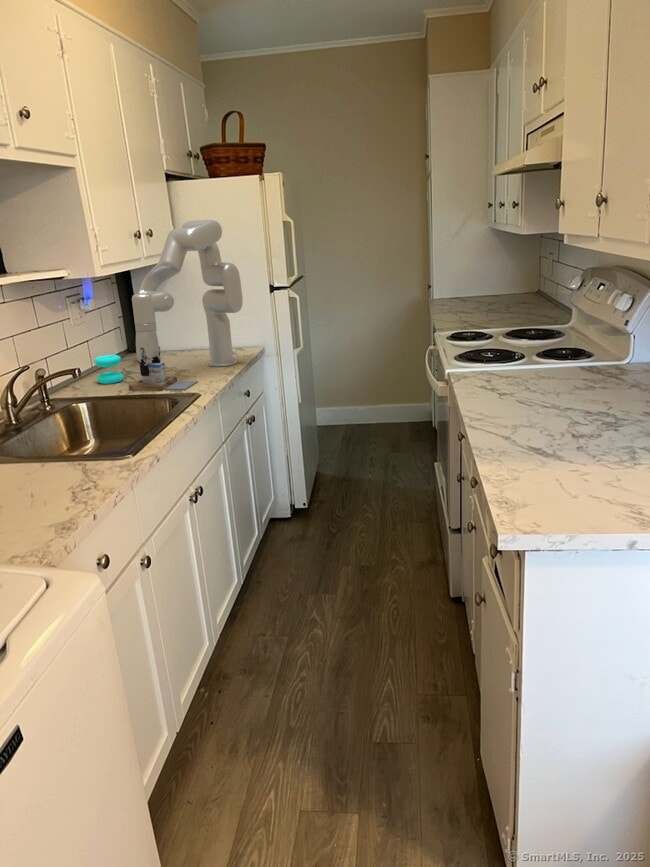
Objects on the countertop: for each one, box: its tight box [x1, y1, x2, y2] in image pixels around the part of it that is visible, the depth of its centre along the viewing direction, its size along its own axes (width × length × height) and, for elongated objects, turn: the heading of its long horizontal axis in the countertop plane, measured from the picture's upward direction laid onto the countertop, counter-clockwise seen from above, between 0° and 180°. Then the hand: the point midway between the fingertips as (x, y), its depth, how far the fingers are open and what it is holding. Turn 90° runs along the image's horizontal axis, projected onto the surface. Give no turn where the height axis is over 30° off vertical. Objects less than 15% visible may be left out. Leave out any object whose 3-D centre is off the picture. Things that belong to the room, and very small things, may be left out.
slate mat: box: [164, 380, 199, 391], centre depth 245 cm, size 12×8×1 cm, turn 168°
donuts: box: [93, 354, 125, 385], centre depth 256 cm, size 10×10×10 cm
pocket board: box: [128, 376, 178, 392], centre depth 247 cm, size 14×13×2 cm
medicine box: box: [141, 362, 167, 383], centre depth 246 cm, size 8×4×9 cm, turn 84°
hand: (151, 373), depth 245 cm, fingers open, 9 cm apart
